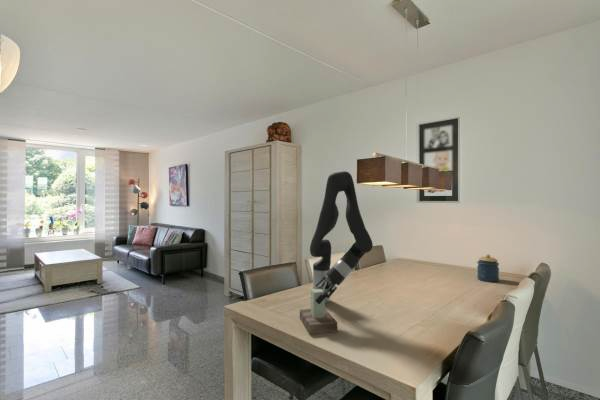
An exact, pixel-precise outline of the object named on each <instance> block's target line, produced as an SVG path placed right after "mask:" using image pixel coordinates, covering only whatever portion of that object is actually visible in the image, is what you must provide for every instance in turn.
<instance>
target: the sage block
mask: <svg viewBox="0 0 600 400" xmlns="http://www.w3.org/2000/svg"><path fill="white" fill-rule="evenodd" d="M322 292H323V290H322V289H313V288H311V289H310V309H311V315H312V316H313V318H321V317H325V309H326V303H325V299H324V300H323V301H322V302H321V303H320V304H318V303H317V302H316V299H317V298H318V297H319V296H320V295H322Z"/></svg>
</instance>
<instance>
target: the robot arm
mask: <svg viewBox="0 0 600 400" xmlns="http://www.w3.org/2000/svg"><path fill="white" fill-rule="evenodd" d="M354 183H355V182H354V179H353V177H352V174H351V173H350V172H348V171H337V172H333V173H330V174H329V175H328V178H327V180H326V186H325V190H324V192H325V193H324V198H323V202H322V207H321V211H320V213H319V216H318V220H317V225H316V228H315V230H314V231H315V232H314V234H313V235H312V236H313V237H312V239H311V242H310V246H309V253H310V255H311V257H313V258H320V257H321V258H320V259H319V260H318V261H316V262H314V263H313V266H312V269H313V270H312V289H322V290H323V292H322V295H320V296H319V297H318V298H317V299H316V302H317V303H318V304H320V303H321V302H322V301H323V300H324V299H325V304H328V303H329V302H330V301H331V296H332V295H333V294H334V292H335V291H337V289H338V287H337V286H340V285H341V284H342V283H343V282H344V280H346V278H348V276H349V275H350V274H351V272H352V271H353V270H354V268H355V267H356V266H357V265H358V264H359V262H360V260H361V259H362V258H363V257H364V255H365V254H367V253H369V252H371V251H372V250H373V241H372V238H371V236H370V234H369V232H368V230H367V229H366V226H365V223H364V221H363V216H362V214H361V212H360V208H359V204H358V199H357V193H356V188H355V184H354ZM340 192H344V195H345V198H346V207H345V208H346V209H345V219H346V223H347V225H348V228H349V230H350V231H349V232H350V233H351V234H352V235H353V238H354V240H355V242H354V243H353V244H351V246H350V248H349V249H348V250H347V252H345V253H344V255H343V256H342V257H341V258H340V259H339V260H338V261H336V263H334V264H333V265H332V267H331V264H332V263H331V262H332V244H331V242H330V240H329V239H324V238H325V237H326V236H327V235H329V233H330V232H331V231H333V229H334V228H335V227H336V225H337V222H338V218H339V215H340V212H339V209H338V206H337V203H336V202H337V197H338V194H339V193H340ZM336 285H337V286H336Z"/></svg>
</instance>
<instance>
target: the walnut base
mask: <svg viewBox="0 0 600 400" xmlns="http://www.w3.org/2000/svg"><path fill="white" fill-rule="evenodd" d="M299 320H300V321H301V323H302V325H303V326H304V328H305V329H306V331H307V333H308V335H318V334H330V333H337V332H338V321H337V320H336V319H335V318H334V317H333V315H331V312H329V311H328V310H327V309H326V308H325V317H321V318H313V316H312V315H311V308H303V309H301V308H300V309H299Z"/></svg>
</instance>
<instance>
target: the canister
mask: <svg viewBox="0 0 600 400" xmlns="http://www.w3.org/2000/svg"><path fill="white" fill-rule="evenodd" d="M476 263H477V267H476V268H477V275H476V277H477V280H479V281H480V282H481V281H482V282H488V283H499V281H500V268H499V265H500V263H499V262H498V259H496V258H495V257H493V256H492V257H491V255H490V254H486V255H485V256H481V257H479V258H478V261H477V262H476Z"/></svg>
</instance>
